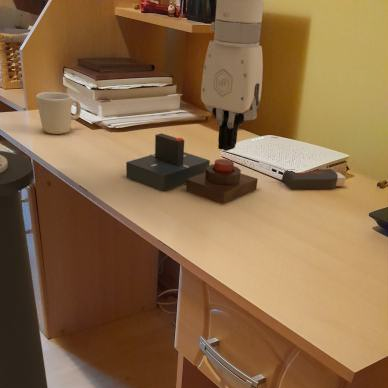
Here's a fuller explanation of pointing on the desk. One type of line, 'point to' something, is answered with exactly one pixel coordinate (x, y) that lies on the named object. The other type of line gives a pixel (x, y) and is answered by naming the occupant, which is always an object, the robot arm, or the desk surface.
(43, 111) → the cup
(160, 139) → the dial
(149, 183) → the panel
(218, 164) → the button
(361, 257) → the desk surface
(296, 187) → the usb drive
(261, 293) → the desk surface
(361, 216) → the desk surface
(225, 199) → the button block
